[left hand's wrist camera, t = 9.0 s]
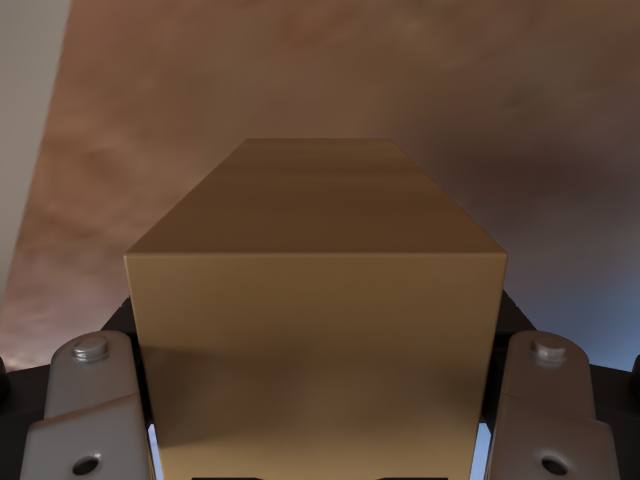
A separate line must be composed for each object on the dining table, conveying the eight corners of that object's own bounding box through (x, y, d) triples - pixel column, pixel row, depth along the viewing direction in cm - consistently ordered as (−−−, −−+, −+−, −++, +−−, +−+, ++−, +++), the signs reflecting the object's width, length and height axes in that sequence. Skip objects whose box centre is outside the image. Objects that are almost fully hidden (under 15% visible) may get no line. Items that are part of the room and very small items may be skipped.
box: (245, 138, 18) (120, 253, 7) (390, 138, 18) (510, 253, 7) (267, 484, 26) (224, 818, 14) (370, 484, 26) (411, 818, 14)
